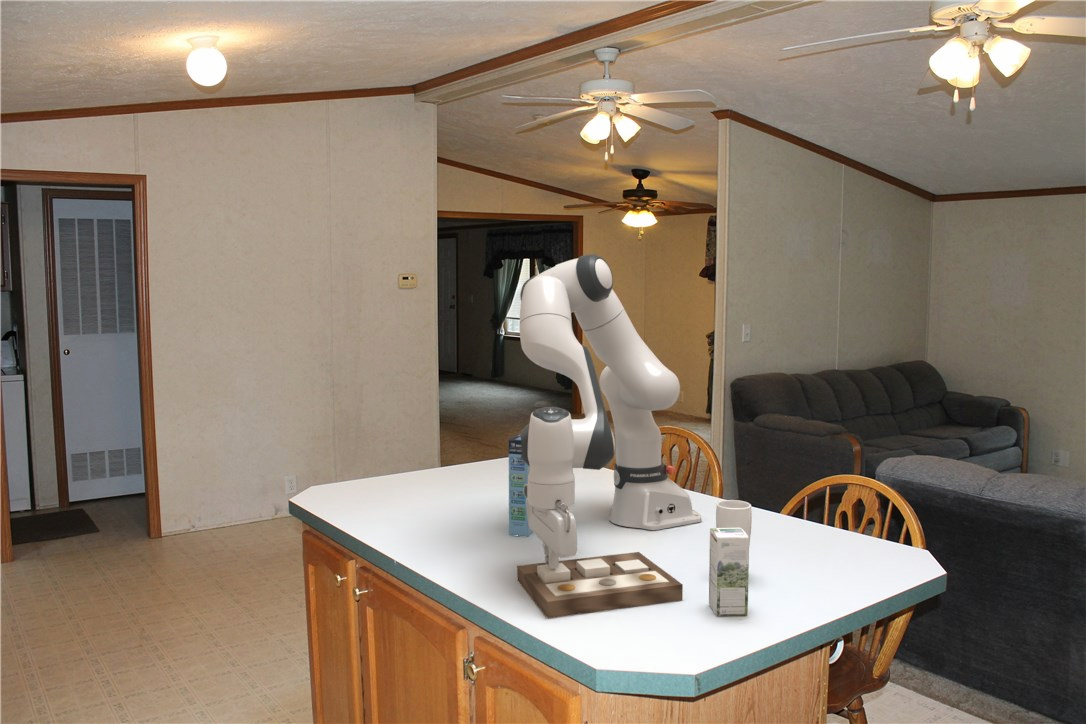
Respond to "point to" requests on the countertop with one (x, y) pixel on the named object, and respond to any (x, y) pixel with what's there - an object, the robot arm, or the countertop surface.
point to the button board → (600, 587)
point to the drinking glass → (734, 515)
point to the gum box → (517, 489)
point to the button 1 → (553, 573)
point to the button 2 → (631, 566)
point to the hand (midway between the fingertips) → (551, 566)
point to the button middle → (593, 568)
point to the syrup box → (728, 571)
